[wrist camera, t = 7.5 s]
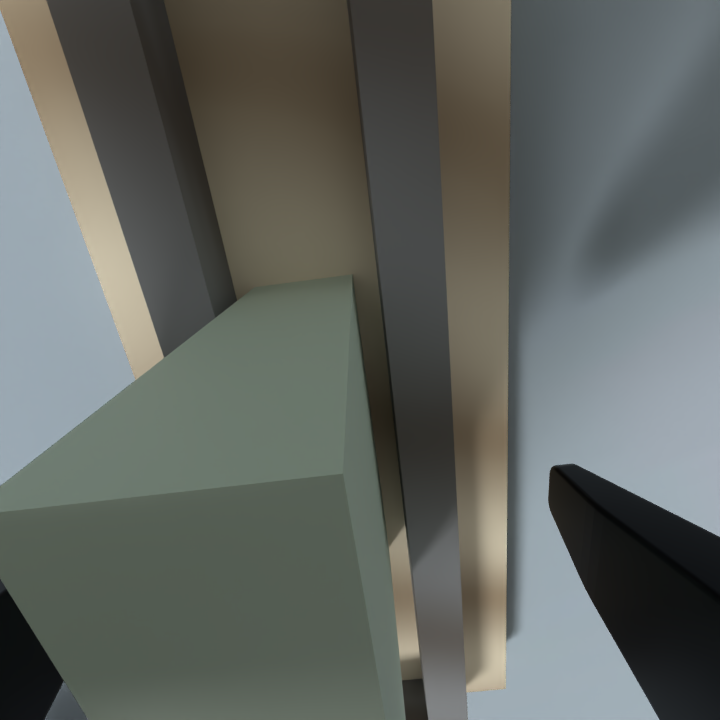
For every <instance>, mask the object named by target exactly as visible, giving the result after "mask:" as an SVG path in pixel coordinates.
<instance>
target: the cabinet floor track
mask: <svg viewBox="0 0 720 720" xmlns="http://www.w3.org/2000/svg"><path fill="white" fill-rule="evenodd" d="M0 10H1V13H2V16H3V18H4V21H5V24H6V27H7V29H8V32H9V35H10V38H11V40H12V43H13V46H14V48H15V51H16V54H17V57H18V59H19V62H20V65H21V68H22V70H23V73H24V76H25V79H26V81H27V84H28V87H29V89H30V92H31V95H32V98H33V100H34V103H35V106H36V109H37V111H38V114H39V117H40V120H41V122H42V125H43V128H44V131H45V133H46V136H47V139H48V141H49V144H50V147H51V150H52V152H53V155H54V158H55V161H56V163H57V166H58V169H59V172H60V174H61V177H62V180H63V183H64V185H65V188H66V191H67V193H68V196H69V199H70V202H71V204H72V207H73V210H74V213H75V215H76V218H77V221H78V224H79V226H80V229H81V232H82V235H83V237H84V240H85V243H86V245H87V248H88V251H89V254H90V256H91V259H92V262H93V265H94V267H95V270H96V273H97V276H98V278H99V281H100V284H101V287H102V289H103V292H104V295H105V297H106V300H107V303H108V306H109V308H110V311H111V314H112V317H113V319H114V322H115V325H116V328H117V330H118V333H119V336H120V338H121V341H122V344H123V347H124V349H125V352H126V355H127V358H128V360H129V363H130V366H131V369H132V371H133V374H134V377H135V380H137V379H138V378H139V377H140V376H142V375H143V374H144V373H146V372H147V371H148V370H149V369H151V368H152V367H153V366H154V365H156V364H157V363H158V362H160V361H161V360H162V359H163V358H165V357H166V356H167V355H169V354H170V353H171V352H172V351H174V350H175V349H176V348H178V347H179V346H180V345H181V344H183V343H184V342H185V341H186V340H188V339H189V338H190V337H192V336H193V335H194V334H195V333H197V332H198V331H199V330H201V329H202V328H203V327H204V326H206V325H207V324H208V323H209V322H211V321H212V320H213V319H215V318H216V317H217V316H218V315H220V314H221V313H222V312H224V311H225V310H226V309H227V308H229V307H230V306H231V305H233V304H234V303H235V302H236V301H238V300H239V299H240V298H241V297H243V296H244V295H245V294H247V293H248V292H249V291H250V290H252V289H253V288H254V287H260V286H267V285H275V284H283V283H290V282H298V281H306V280H313V279H321V278H328V277H336V276H344V275H351V274H353V282H354V289H355V297H356V304H357V312H358V319H359V327H360V334H361V342H362V349H363V357H364V364H365V372H366V379H367V387H368V394H369V402H370V409H371V417H372V425H373V432H374V440H375V447H376V455H377V462H378V470H379V477H380V485H381V492H382V500H383V507H384V515H385V522H386V530H387V537H388V545H389V554H390V564H391V574H392V585H393V595H394V605H395V615H396V626H397V636H398V646H399V656H400V666H401V677H402V687H403V697H404V707H405V718H406V720H468V714H467V694H466V692H476V691H487V690H498V689H506V587H507V460H508V334H509V207H510V81H511V0H0Z"/></svg>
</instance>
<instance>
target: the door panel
mask: <svg viewBox="0 0 720 720" xmlns="http://www.w3.org/2000/svg"><path fill="white" fill-rule="evenodd" d="M0 579H1V581H2V582H3V584H4V586H5V587H6V589H7V590H8V592H9V594H10V595H11V597H12V598H13V600H14V602H15V603H16V605H17V606H18V608H19V610H20V611H21V613H22V614H23V616H24V618H25V619H26V621H27V622H28V624H29V626H30V627H31V629H32V630H33V632H34V634H35V635H36V637H37V638H38V640H39V642H40V643H41V645H42V646H43V648H44V650H45V651H46V653H47V654H48V656H49V658H50V659H51V661H52V662H53V664H54V666H55V667H56V669H57V670H58V672H59V674H60V675H61V677H62V678H63V680H64V682H65V683H66V685H67V686H68V688H69V690H70V691H71V693H72V694H73V696H74V698H75V699H76V701H77V702H78V704H79V706H80V707H81V709H82V710H83V712H84V714H85V715H86V717H87V718H88V720H406V718H405V707H404V697H403V687H402V677H401V666H400V656H399V646H398V636H397V626H396V615H395V605H394V595H393V585H392V574H391V564H390V554H389V545H388V537H387V530H386V522H385V515H384V507H383V500H382V492H381V485H380V477H379V470H378V462H377V455H376V447H375V440H374V432H373V425H372V417H371V409H370V402H369V394H368V387H367V379H366V372H365V364H364V357H363V349H362V342H361V334H360V327H359V319H358V312H357V304H356V297H355V289H354V282H353V274H351V275H344V276H336V277H328V278H321V279H313V280H306V281H298V282H290V283H283V284H275V285H267V286H260V287H254V288H253V289H252V290H250V291H249V292H248V293H247V294H245V295H244V296H243V297H241V298H240V299H239V300H238V301H236V302H235V303H234V304H233V305H231V306H230V307H229V308H227V309H226V310H225V311H224V312H222V313H221V314H220V315H218V316H217V317H216V318H215V319H213V320H212V321H211V322H209V323H208V324H207V325H206V326H204V327H203V328H202V329H201V330H199V331H198V332H197V333H195V334H194V335H193V336H192V337H190V338H189V339H188V340H186V341H185V342H184V343H183V344H181V345H180V346H179V347H178V348H176V349H175V350H174V351H172V352H171V353H170V354H169V355H167V356H166V357H165V358H163V359H162V360H161V361H160V362H158V363H157V364H156V365H154V366H153V367H152V368H151V369H149V370H148V371H147V372H146V373H144V374H143V375H142V376H140V377H139V378H138V379H137V380H135V381H134V382H133V383H131V384H130V385H129V386H128V387H126V388H125V389H124V390H122V391H121V392H120V393H119V394H117V395H116V396H115V397H114V398H112V399H111V400H110V401H108V402H107V403H106V404H105V405H103V406H102V407H101V408H99V409H98V410H97V411H96V412H94V413H93V414H92V415H91V416H89V417H88V418H87V419H85V420H84V421H83V422H82V423H80V424H79V425H78V426H76V427H75V428H74V429H73V430H71V431H70V432H69V433H67V434H66V435H65V436H64V437H62V438H61V439H60V440H59V441H57V442H56V443H55V444H53V445H52V446H51V447H50V448H48V449H47V450H46V451H44V452H43V453H42V454H41V455H39V456H38V457H37V458H36V459H34V460H33V461H32V462H30V463H29V464H28V465H27V466H25V467H24V468H23V469H21V470H20V471H19V472H18V473H16V474H15V475H14V476H12V477H11V478H10V479H9V480H7V481H6V482H5V483H4V484H2V485H1V486H0Z"/></svg>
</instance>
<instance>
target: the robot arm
mask: <svg viewBox="0 0 720 720" xmlns="http://www.w3.org/2000/svg"><path fill="white" fill-rule="evenodd" d="M548 502H549V508H550V511H551V513H552V516H553V518H554V520H555V522H556V525H557V527H558V529H559V531H560V534H561V536H562V538H563V540H564V543H565V545H566V547H567V549H568V552H569V554H570V556H571V558H572V561H573V563H574V565H575V567H576V570H577V572H578V574H579V576H580V578H581V581H582V583H583V585H584V587H585V589H586V591H587V593H588V595H589V596H590V598H591V600H592V602H593V604H594V606H595V607H596V609H597V611H598V613H599V614H600V616H601V618H602V620H603V621H604V623H605V625H606V627H607V628H608V630H609V632H610V634H611V635H612V637H613V639H614V641H615V642H616V644H617V646H618V648H619V649H620V651H621V653H622V655H623V656H624V658H625V660H626V662H627V663H628V665H629V667H630V669H631V670H632V672H633V674H634V676H635V677H636V679H637V681H638V683H639V684H640V686H641V688H642V690H643V691H644V693H645V695H646V697H647V698H648V700H649V702H650V704H651V705H652V707H653V709H654V711H655V713H656V714H657V716H658V718H659V720H720V537H719V536H717V535H715V534H713V533H711V532H709V531H707V530H705V529H703V528H701V527H699V526H697V525H695V524H693V523H691V522H689V521H687V520H685V519H683V518H681V517H679V516H677V515H675V514H673V513H671V512H669V511H667V510H665V509H663V508H661V507H659V506H657V505H655V504H653V503H651V502H649V501H647V500H645V499H643V498H641V497H639V496H637V495H635V494H633V493H631V492H629V491H627V490H625V489H623V488H621V487H619V486H617V485H615V484H613V483H611V482H609V481H607V480H605V479H603V478H601V477H599V476H597V475H595V474H593V473H592V472H590V471H588V470H586V469H584V468H582V467H580V466H578V465H575V464H564V465H555V466H553V467H552V468H551V470H550V477H549V495H548ZM63 681H64V680H63V678H62V677H61V675H60V674H59V672H58V670H57V669H56V667H55V666H54V664H53V662H52V661H51V659H50V658H49V656H48V654H47V653H46V651H45V650H44V648H43V646H42V645H41V643H40V642H39V640H38V638H37V637H36V635H35V634H34V632H33V630H32V629H31V627H30V626H29V624H28V622H27V621H26V619H25V618H24V616H23V614H22V613H21V611H20V610H19V608H18V606H17V605H16V603H15V602H14V600H13V598H12V597H11V595H10V594H9V592H8V590H7V589H6V587H5V586H4V584H3V582H2V581H1V579H0V720H44V719H45V717H46V715H47V713H48V711H49V709H50V707H51V705H52V703H53V701H54V699H55V697H56V695H57V693H58V691H59V689H60V687H61V685H62V683H63Z"/></svg>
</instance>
